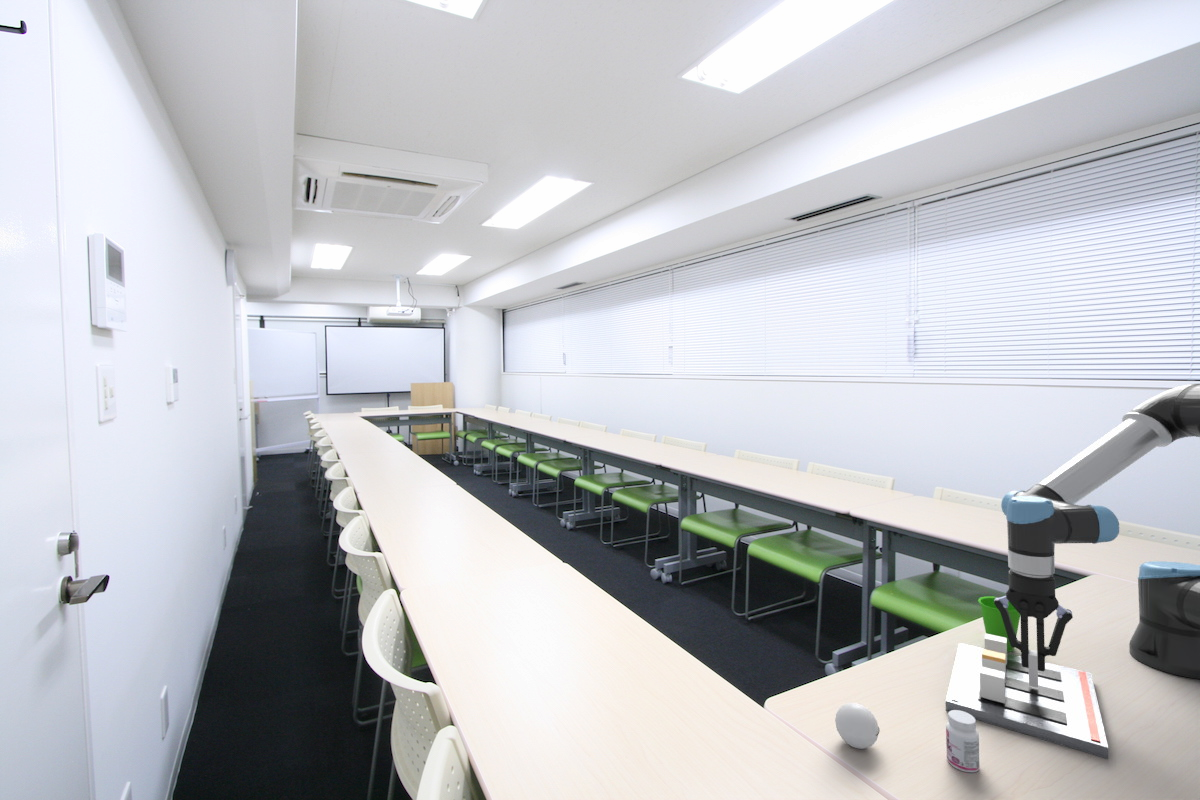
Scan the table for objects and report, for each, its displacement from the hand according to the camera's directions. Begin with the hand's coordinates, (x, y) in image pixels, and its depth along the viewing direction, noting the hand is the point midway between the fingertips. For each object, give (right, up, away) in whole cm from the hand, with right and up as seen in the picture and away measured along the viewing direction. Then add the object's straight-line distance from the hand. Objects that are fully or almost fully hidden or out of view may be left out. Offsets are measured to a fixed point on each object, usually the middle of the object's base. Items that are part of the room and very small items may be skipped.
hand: (1033, 683), depth 111 cm
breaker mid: (-5, -1, +4) cm, 7 cm away
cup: (+10, -3, +22) cm, 24 cm away
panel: (-2, -3, +1) cm, 4 cm away
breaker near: (-11, -1, -3) cm, 11 cm away
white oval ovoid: (-42, -5, -11) cm, 44 cm away
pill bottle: (-27, -5, -18) cm, 33 cm away
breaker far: (0, 0, +11) cm, 11 cm away
